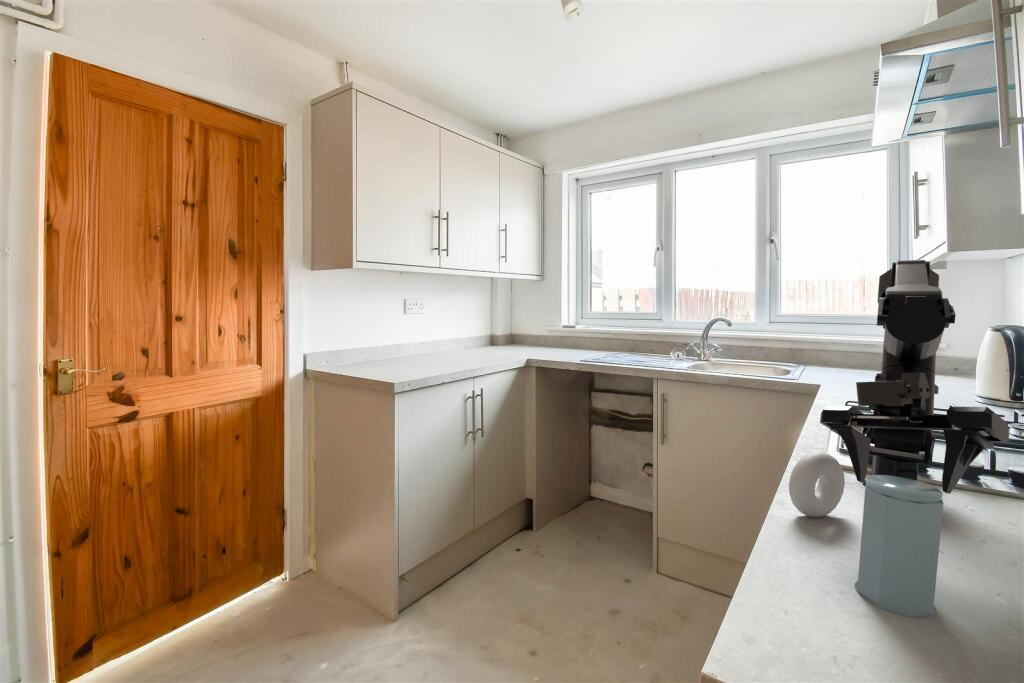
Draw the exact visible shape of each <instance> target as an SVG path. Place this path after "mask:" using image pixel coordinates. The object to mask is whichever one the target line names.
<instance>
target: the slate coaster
mask: <svg viewBox="0 0 1024 683" xmlns="http://www.w3.org/2000/svg"><path fill="white" fill-rule="evenodd" d="M857 587H858V580H857V581H856V582H855V583H854V589H855V591H856V593H858V595H859V596H860V597H862V599H864V600H865V601H867V602H868V603H870V604H872V605H873V606H876V607H877V608H879V609H881V610H883V611H886V612H889V613H891V614H895V615H897V616H901V617H906V618H911V619H928V618H932V617H934V616H935V614H936V613H937V609H936V606H935V605H934V608H933V615H924V616H911V617H910V616H907V615H904V614H900V613H897V612H894V611H891V610H888V609H885V608H882V607H879V606H877V605H875V604H874V603H873V602H871V601H870V600H868V599H867V598H866V597H864V596H863V595H862V594H860V593H859V592H857Z"/></svg>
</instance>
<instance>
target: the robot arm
mask: <svg viewBox="0 0 1024 683" xmlns="http://www.w3.org/2000/svg"><path fill="white" fill-rule="evenodd" d="M891 264H892V266H891V268H890V269H888V270H887V271H885V272H884V273H882V274H881V275H879V279H878V288H877V289H878V290H877V304H878V306H877V319H876V327H877V326H878V327H881V326H882V328H883V330H884V337H883V346H882V347H883V348H882V358H881V371H880V373H879V372H878V373H876V375H875V376H874V381H857V382H856V383H855V385H856V395H857V405H858V407H868V409H870V410H872V411H873V413H869V414H868V413H863V412H862V411H860V410H859V409H857V408H855V407H854V406H852V405H826V406H825V408H823V409H822V411H821V412H820V419H819V423H820V424H821V425H822V426H824V427H826V428H828V429H829V430H830V431H831V432H833V433H835V434H836V435H838V436H840V438H841V440H842V441H843V443H844V445H845V447H846V450H847V453H848V455H849V459H850V462H851V465H852V468H853V472H854V475H855V477H856V480H857V482H859V483H860V484H861V483H862V484H864V485H865V486H866V478H867V474H868V466H869V458H870V456H871V455H872V465H871V476H872V475H889V476H897V477H903V478H908V479H912V480H916V481H918V477H919V473H918V468H919V464H923V465H928V464H929V463H930V464H931V463H933V454H934V449H935V444H936V437H935V436H934V434H932V431H943V436H944V441H945V451H944V459H943V469H942V476H941V479H942V480H941V481H942V486H941V487H942V493H943V492H944V493H945V494H952V492H953V490H954V489H955V487H956V486H957V484H958V482H959V481H960V479H962V477H963V475H964V474H965V472H966V471H967V469H968V468H969V466H970V465H971V464H972V463H973V462H974V461H975V460H976V458H977V457H979V455H980V454H981V453H982V452H983V451H984V450H993V449H994V448H995V445H994V443H995V444H996V443H998V444H1007V443H1010V428H1009V425H1008V422H1007V421H1006V420H1004V419H1003V418H1002V417H1001V416H999V415H998V414H997V413H996V412H995V411H993V410H992V409H990V408H989V407H988V406H949V407H948V409H947V410H946V415H945V414H944V415H943V414H942V415H941V414H940V415H939V414H935V412H934V411H935V409H934V407H935V395H937V394H939V386H938V385H937V384H936V383H935V382H936V362H937V361H936V359H937V351H938V350H939V347H940V344H941V341H942V339H943V338H942V337H943V335H944V331H945V329H949V326H950V324H955V322H956V315H957V314H956V312H955V308H954V306H952V305H951V304H950V300H949V298H947V297H943V291H942V289H941V288H940V287H939V286H940V275H939V273H937V272H935V271H934V270H932V269H931V261H929V260H927V261H926V260H925V259H911V260H909V259H908V260H905V259H904V260H897V261H895V262H894V261H893V262H892V263H891Z"/></svg>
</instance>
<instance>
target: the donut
mask: <svg viewBox="0 0 1024 683" xmlns="http://www.w3.org/2000/svg"><path fill="white" fill-rule="evenodd" d="M845 483H846V482H845V473H844V470H843V467H842V464H840V462H839V461H838V459H837V458H835V457H834V456H832V455H831V454H829V453H827V452H823V451H812V452H810V453H808V454H805V455H804V456H802V457H801V458H800V459H799V460H798V461H797V462H796V464H795V465H794V466H793V468H792V470H791V472H790V475H789V480H788V493H789V497H790V500H791V503H792V505H793V506H794V507H795V508H796V510H797V512H799V513H800V514H802V515H805V516H807V517H809V518H822V517H824V516H826V515H829V514H831V513H832V512H833V511H834V510H835V509H836V508H837V506H838V505H839V503H840V502H841V499H842V497H843V494H844V490H845ZM816 484H817V486H816Z"/></svg>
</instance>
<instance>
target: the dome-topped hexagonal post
mask: <svg viewBox="0 0 1024 683" xmlns="http://www.w3.org/2000/svg"><path fill="white" fill-rule="evenodd" d="M865 480H866V485H865V487H864V488H865V489H864V499H863V513H862V522H861V523H862V525H861V538H860V552H859V561H858V562H859V563H858V564H859V565H858V574H857V576H858V577H857V581H858V587H857V591H856V593H857V592H859V593H860V594H862V595H863V596H864V597H866V598H867V599H868V600H870V601H871V602H873V603H874V604H875V605H877V606H879V607H882V608H885V609H888V610H891V611H894V612H897V613H900V614H904V615H907V616H910V617H909V618H911V616H924V615H933V608H934V606H935V598H936V597H935V595H936V584H937V573H938V564H939V554H940V553H939V552H940V544H941V543H940V541H941V534H942V533H941V532H942V531H941V530H942V520H943V511H944V510H943V509H944V501H943V495H944V494H943V491H942V490H940V489H939V488H937V487H936V486H933V485H930V484H928V483H925V482H922V481H919V480H917V481H916V480H912V479H908V478H903V477H897V476H889V475H872V474H871V475H869V476H868V475H867V476H866V478H865ZM875 605H874V606H875ZM877 606H876V607H877ZM879 607H878V608H879Z"/></svg>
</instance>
